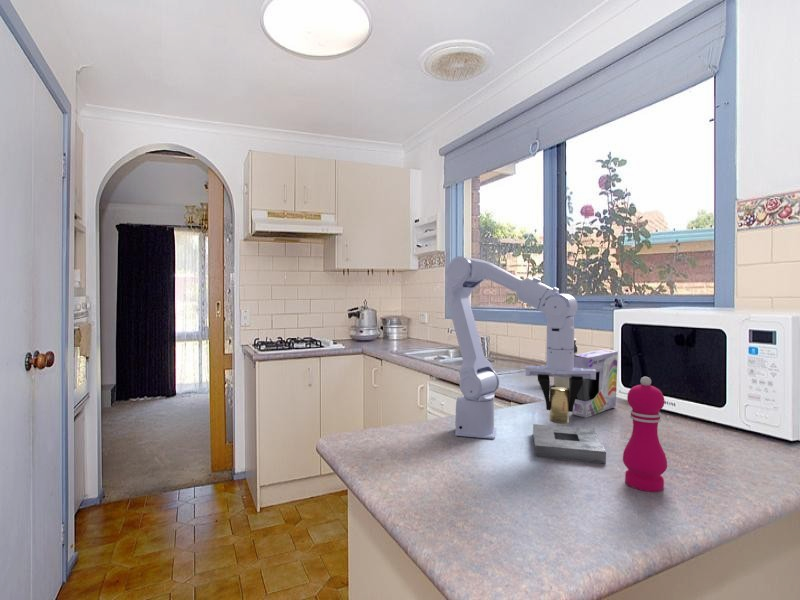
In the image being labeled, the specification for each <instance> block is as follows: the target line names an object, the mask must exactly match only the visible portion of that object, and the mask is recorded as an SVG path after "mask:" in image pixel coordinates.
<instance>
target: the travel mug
mask: <svg viewBox="0 0 800 600" xmlns="http://www.w3.org/2000/svg"><path fill="white" fill-rule="evenodd" d="M576 342H577V338H575V337H574V355H576V354H578V346H577V344H576ZM565 375H569V374H565ZM553 387H562V388H567V389H569V378H568V377H553Z"/></svg>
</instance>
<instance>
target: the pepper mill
mask: <svg viewBox="0 0 800 600" xmlns="http://www.w3.org/2000/svg"><path fill="white" fill-rule="evenodd" d="M639 382H640V384H637V385H636V384H635V386H632V387H631V388H630V389H629V390H628V393H627V402H628V404H629V406H630V407H631V409H630V410H629V412H630V415H629V418H630V419H632V433H631V435H630V438H629V439H628V442H627V443H626V444H625V445H626V446H625V447H624V450H623V454H622V462H623V464H624V466H625V467H626V468H627V470H626V471H625V472H624V473H625V475H624V477H625V478H624V480H625V483H626V484H627V485H628V486H630V487H632V488H634V489H636V490H639V491H644V492H660V491H662V490H663V489H664V486H665V478H664V477H663V476H662V474H664V473H666V470H667V468H668V460H667V457H666V453H665V450H664V449H663V447H662V445H661V442H660V440H659V434H658V427H659V422H661V420H662V418H661V416H662V414H661V412H660V411H661V410H662V409H663V408H664V406H665V397H664V394H663V392H662V390H661V389H660V388H657V387H656V386H653V385H651V384H652V379H651V377H648V376H643V377H641V378H640V381H639Z"/></svg>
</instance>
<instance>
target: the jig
mask: <svg viewBox="0 0 800 600" xmlns="http://www.w3.org/2000/svg"><path fill="white" fill-rule="evenodd" d="M532 425H533V427H532V429H533V430H532V433H533V434H532V436H533V447H534V458H541V457H542V458H543V459H551V458H553V459H554V460H562V461H563V460H564V461H575V462H584V463H595V464H604V465H605V464H607V451H606V449H605V447H604V445H603V443H602V441H601V440H600V437H599V436H598V434H597V432H596V430H595V428H589V427H588V428H587V427H575V426H560V425H548V424H534V423H533V424H532Z"/></svg>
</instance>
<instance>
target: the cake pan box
mask: <svg viewBox="0 0 800 600" xmlns="http://www.w3.org/2000/svg"><path fill="white" fill-rule="evenodd" d="M618 360H619V351H617V350H611V349H607V348H604V349H599V350H591V351H587V352H583V353H579V354H578V353H577V354H576V355H574V368H584V369H595V370H596V380H594V379H587V378H583V385H582V387H581V388H580V390H579V392H578V394H577V397H576V399H575V402H574V406H573V412H571V414H572V415H573V416H577V417H580V418H585V419H586V418H590V417H593V416H595V415H597V414H600V413H602V412H605V411H607V410H611V409H613V408H615V407H617V383H618V382H617V379H618Z"/></svg>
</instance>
